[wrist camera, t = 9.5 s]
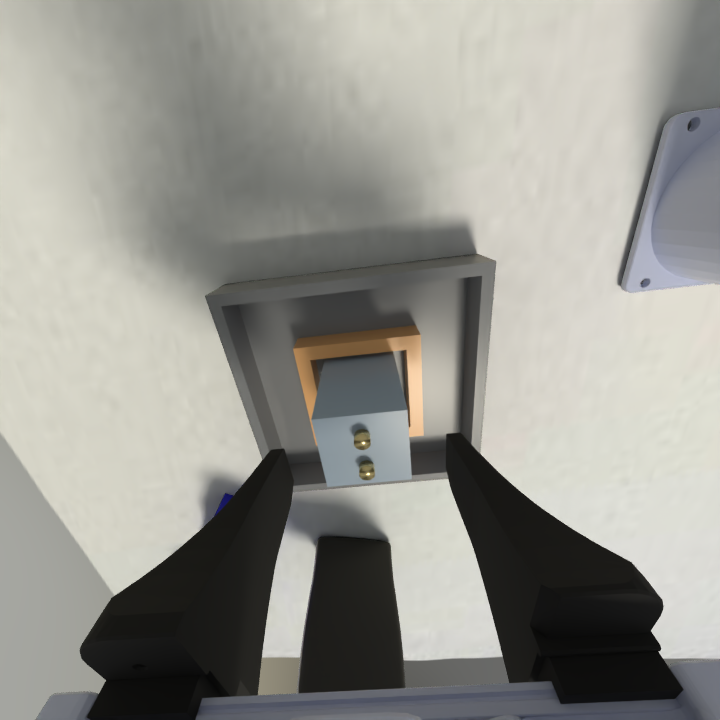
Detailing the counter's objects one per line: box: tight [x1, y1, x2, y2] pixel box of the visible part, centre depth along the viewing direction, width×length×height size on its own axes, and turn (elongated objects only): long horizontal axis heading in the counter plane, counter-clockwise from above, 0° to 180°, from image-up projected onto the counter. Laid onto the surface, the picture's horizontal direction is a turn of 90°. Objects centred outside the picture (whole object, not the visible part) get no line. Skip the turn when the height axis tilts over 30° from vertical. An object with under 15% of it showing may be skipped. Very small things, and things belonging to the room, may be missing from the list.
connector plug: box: [311, 351, 412, 487], centre depth 16 cm, size 4×4×7 cm
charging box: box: [205, 254, 496, 492], centre depth 19 cm, size 14×14×2 cm
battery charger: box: [297, 537, 406, 693], centre depth 23 cm, size 7×4×11 cm, turn 82°
